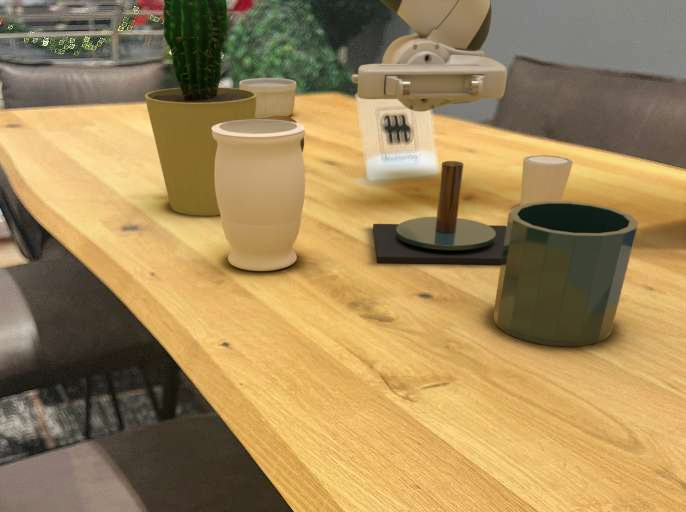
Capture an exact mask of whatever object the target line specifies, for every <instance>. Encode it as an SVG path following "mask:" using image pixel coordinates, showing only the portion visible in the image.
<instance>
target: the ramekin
mask: <svg viewBox="0 0 686 512" xmlns="http://www.w3.org/2000/svg"><path fill="white" fill-rule="evenodd" d="M238 89H244V90H249V91H253V92H255V93H257V96H256V110H255V118H258V117H268V116H287V117H290V116H291V115H292V114H293V112H294V109H295V101H296V90H297V81H295V80H293V79H288V78H280V77H257V78H246V79H242V80H240V81H239V82H238Z"/></svg>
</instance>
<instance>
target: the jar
mask: <svg viewBox="0 0 686 512" xmlns="http://www.w3.org/2000/svg"><path fill="white" fill-rule="evenodd" d="M305 129H306V128H305V126H304V125H303V124H301V123H298V122H297V123H294V122H289V121H283V120H272V119H248V120H236V121H230V122H224V123H220V124H217V125H215V126H213V127H212V136H213V138H214V139H215V140H216V141H217V144H218V146H217V150H216V156H215V171H214V178H215V191H216V198H217V203H218V207H219V211H220V214H221V215H220V222H221V226H222V230H223V233H224V236H225V239H226V240H227V243H228V245H229V247H231V250H230V251H229V254H228V256H227V260H228V263H229V264H230V265H232V266H234V267H235V268H238V269H240V270H244V271H252V272H269V271H277V270H281V269H285V268H288V267H290V266H292V265H293V264H295V262H296V261H297V253H296V251H295V249H294V248H293V247H294V245H295V244H296V240H297V238H298V236H299V232H300V229H301V221H302V214H303V210H304V209H303V208H304V204H305V203H304V202H305V193H306V169H305V160H304V155H303V152H302V150H301V146H300V141H301V140H302V139H303V137H304V138H305V135H306V131H305Z"/></svg>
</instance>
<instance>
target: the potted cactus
mask: <svg viewBox="0 0 686 512" xmlns="http://www.w3.org/2000/svg"><path fill="white" fill-rule="evenodd" d="M159 1H161V2H163V4H164V5H157V6H156V7H157V8H161V9H159V11H160V12H161V14H162V17H163V20H161V19H158V18H157V20H158V21H160V22H162V24H161V25H162V26H161V27H162V28H161V29H162V30H163V31H162V33H163V35H161V38H160V40H162V39H163V40H162V41H161V43H162V44H164V45H163V47H164V48H166V47H167V46H168V48H169V51H170V53H171V54H170V57H171V59H168V60H166V61H171V62H172V65H169V66H168V68H170V67H173V69H172V72H173V74H171V77H174V78H173V80H175V79H177V80H176V81H177V82H178V84H177V87H175V88H173V87H172V88H166V89H165V88H163V89H158V90H153V91H149V92H147V93H145V94H144V98H145V101H146V107H147V108H146V109H147V113H148V117H149V121H150V125H151V129H152V134H153V137H154V142H155V146H156V150H157V154H158V160H159V165H160V167H161V172H162V176H163V181H164V183H165V184H164V185H165V189H166V193H167V197H168V202H169V205H170V207H171V209H172V210H173V211H174V212H175V213H176V212H177V213H179V214H183V215H190V216H201V217H202V216H205V217H206V216H207V217H208V216H221V214H220V211H219V207H218V203H217V198H216V191H215V178H214V171H215V156H216V150H217V146H218V144H217V141H216V140H215V139H214V138H213V136H212V127H213V126H215V125H217V124H220V123H224V122H230V121H236V120H248V119H255V110H256V96H257V93H255V92H253V91H249V90H244V89H239V88H237V87H226V86H224V85H225V84H224V83H223V80H222V79H221V76H222V65H225V62H224V61H223V60H224V59H223V57H222V56H224V53H222V46H223V47H224V48H223V51H226V50H225V49H227V50H229V51H230V49H229V48H228V47H226V45H227V44H228V43H227V42H226V41H227V39H228V38H229V36H228V35H229V34H230V33H232V34H233V33H234V31H230V30H229V31H228V22H230V19H228V17H229V16H232V15H233V13H228V5H227V1H228V0H159ZM164 40H165V41H164ZM224 42H225V43H224ZM162 50H163V48H161V49H160V51H162ZM225 61H228V60H226V59H225ZM221 63H222V64H221ZM223 70H226V69H225V68H223Z"/></svg>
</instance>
